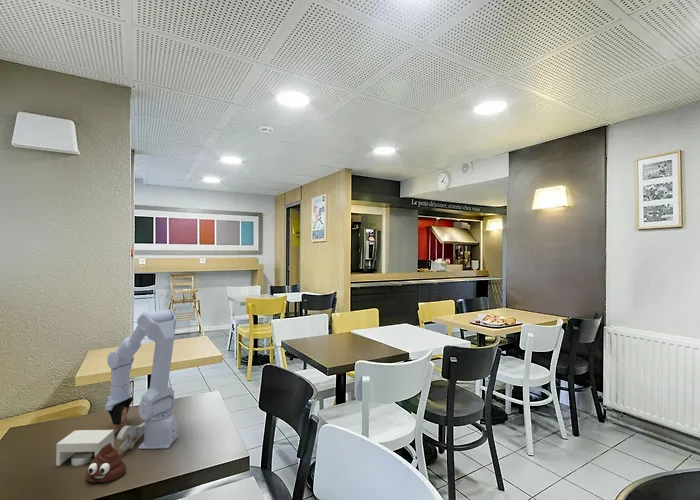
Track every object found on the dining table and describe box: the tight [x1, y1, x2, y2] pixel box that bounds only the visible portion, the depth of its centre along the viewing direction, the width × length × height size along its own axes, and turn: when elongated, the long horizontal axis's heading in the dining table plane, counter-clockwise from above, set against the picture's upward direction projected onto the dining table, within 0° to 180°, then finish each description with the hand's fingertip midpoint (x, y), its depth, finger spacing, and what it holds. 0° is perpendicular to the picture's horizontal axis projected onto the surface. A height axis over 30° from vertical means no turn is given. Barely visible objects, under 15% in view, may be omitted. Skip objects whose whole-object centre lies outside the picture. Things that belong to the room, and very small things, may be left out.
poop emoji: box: [85, 443, 127, 483], centre depth 103 cm, size 10×8×9 cm
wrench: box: [116, 421, 145, 451], centre depth 127 cm, size 8×2×30 cm
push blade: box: [77, 407, 128, 457], centre depth 122 cm, size 6×19×7 cm, turn 4°
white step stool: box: [55, 429, 115, 467], centre depth 112 cm, size 12×8×6 cm, turn 94°
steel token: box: [70, 452, 93, 467], centre depth 110 cm, size 5×5×2 cm
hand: (119, 421), depth 130 cm, fingers closed on push blade, 3 cm apart
